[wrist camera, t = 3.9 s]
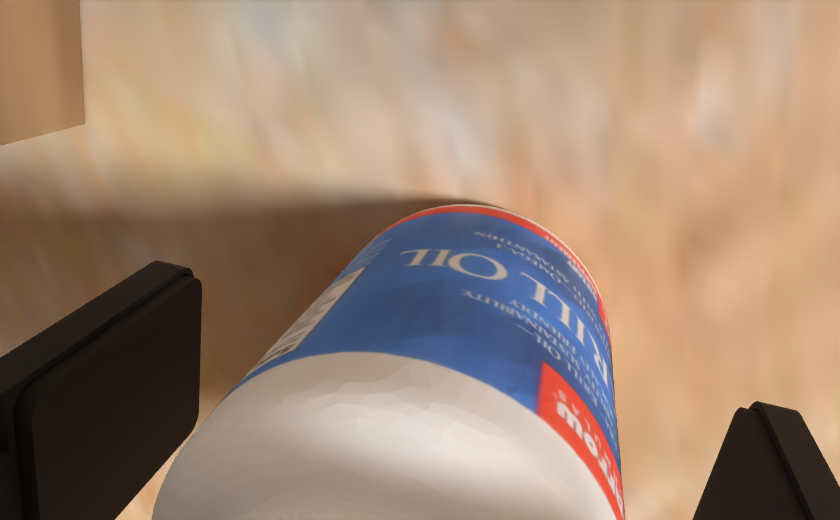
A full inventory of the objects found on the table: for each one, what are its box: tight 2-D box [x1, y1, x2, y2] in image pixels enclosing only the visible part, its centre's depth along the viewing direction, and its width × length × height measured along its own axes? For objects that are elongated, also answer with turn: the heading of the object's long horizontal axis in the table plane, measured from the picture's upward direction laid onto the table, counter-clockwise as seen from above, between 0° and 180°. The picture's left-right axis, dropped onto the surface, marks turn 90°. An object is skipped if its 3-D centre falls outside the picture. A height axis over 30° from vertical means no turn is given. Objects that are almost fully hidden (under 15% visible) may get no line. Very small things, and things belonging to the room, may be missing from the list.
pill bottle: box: [152, 204, 625, 520], centre depth 9 cm, size 6×5×10 cm
